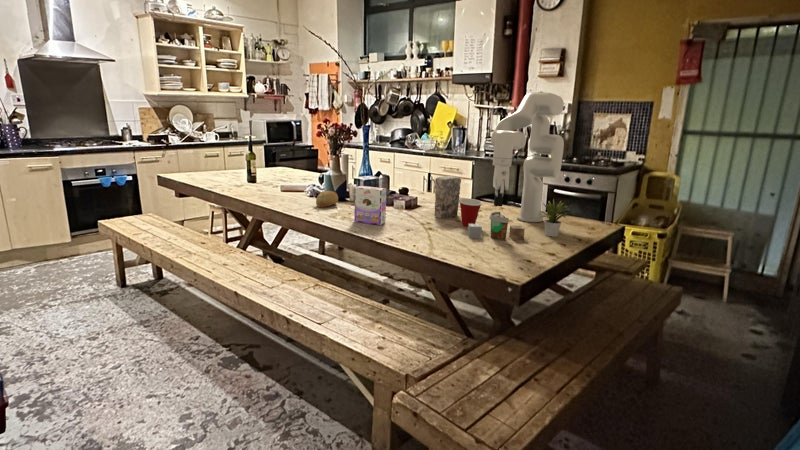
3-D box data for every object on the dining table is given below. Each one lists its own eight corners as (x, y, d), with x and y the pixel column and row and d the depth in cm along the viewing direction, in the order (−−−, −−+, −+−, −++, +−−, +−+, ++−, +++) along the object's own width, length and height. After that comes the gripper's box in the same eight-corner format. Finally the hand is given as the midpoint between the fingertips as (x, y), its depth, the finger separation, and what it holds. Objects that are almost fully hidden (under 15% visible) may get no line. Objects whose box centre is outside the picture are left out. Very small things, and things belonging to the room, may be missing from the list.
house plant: (564, 242, 192) (569, 204, 188) (531, 236, 199) (535, 199, 195) (571, 235, 204) (576, 199, 200) (540, 230, 211) (544, 195, 207)
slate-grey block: (479, 235, 198) (480, 223, 197) (480, 238, 194) (481, 226, 192) (467, 234, 198) (468, 223, 197) (469, 238, 194) (470, 226, 192)
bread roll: (342, 204, 249) (343, 190, 247) (327, 209, 236) (327, 194, 234) (328, 202, 253) (328, 188, 251) (312, 207, 240) (311, 192, 238)
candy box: (386, 223, 212) (387, 188, 208) (380, 225, 207) (381, 189, 203) (360, 219, 218) (360, 185, 214) (353, 221, 213) (354, 186, 209)
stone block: (443, 219, 224) (446, 178, 219) (432, 216, 228) (434, 177, 223) (459, 215, 233) (462, 176, 228) (448, 213, 238) (451, 175, 233)
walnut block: (520, 237, 198) (521, 225, 197) (523, 240, 193) (524, 228, 192) (509, 236, 198) (510, 225, 197) (511, 239, 193) (512, 227, 192)
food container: (484, 233, 202) (486, 211, 199) (498, 233, 202) (500, 211, 200) (492, 241, 190) (494, 217, 187) (506, 241, 190) (509, 218, 188)
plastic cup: (465, 229, 206) (467, 203, 203) (452, 224, 216) (454, 199, 213) (485, 227, 211) (487, 202, 208) (471, 222, 220) (473, 197, 217)
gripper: (515, 164, 181) (510, 210, 185) (507, 160, 195) (503, 202, 200) (496, 163, 181) (492, 209, 185) (489, 159, 195) (486, 202, 200)
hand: (497, 205), depth 192 cm, fingers closed
